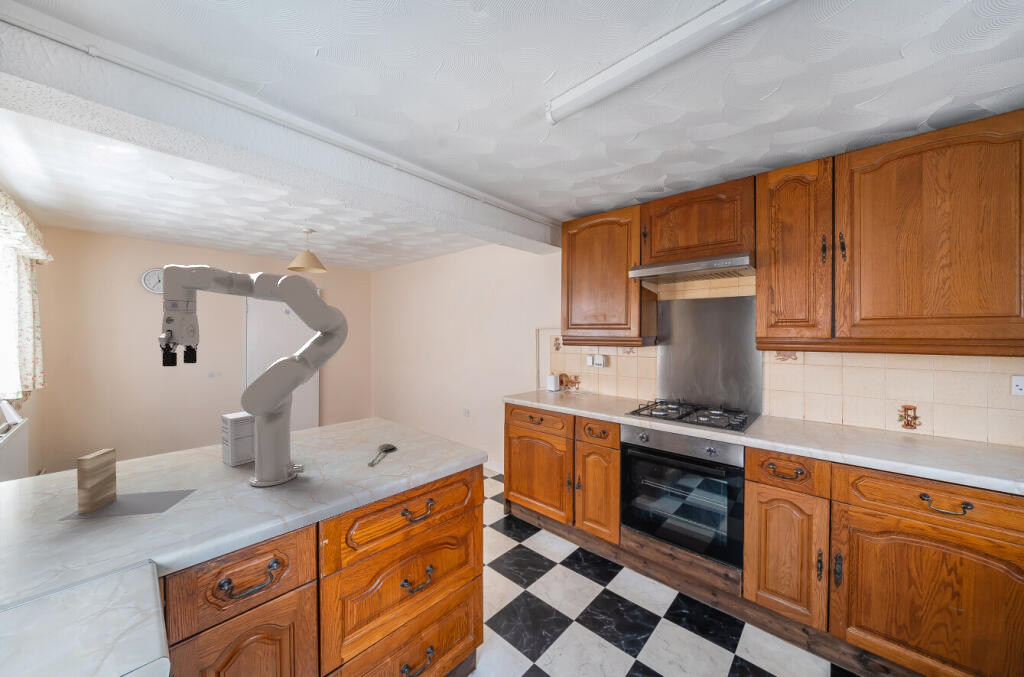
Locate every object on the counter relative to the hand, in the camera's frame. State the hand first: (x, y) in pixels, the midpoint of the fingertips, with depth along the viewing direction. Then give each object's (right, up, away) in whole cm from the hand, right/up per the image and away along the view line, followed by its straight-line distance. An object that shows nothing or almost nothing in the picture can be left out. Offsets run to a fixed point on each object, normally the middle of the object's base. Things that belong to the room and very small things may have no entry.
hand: (180, 364), depth 112 cm
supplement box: (+2, -36, +22) cm, 43 cm away
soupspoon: (+50, -37, +29) cm, 68 cm away
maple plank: (-10, -36, -13) cm, 40 cm away
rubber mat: (-2, -37, -12) cm, 39 cm away
